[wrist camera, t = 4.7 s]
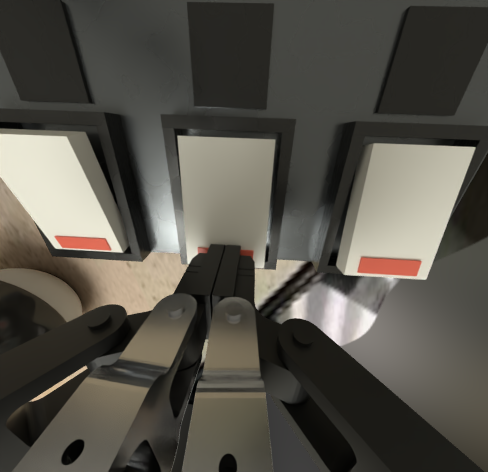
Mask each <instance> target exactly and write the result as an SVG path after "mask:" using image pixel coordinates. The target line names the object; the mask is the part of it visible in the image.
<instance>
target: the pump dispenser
mask: <svg viewBox="0 0 488 472" xmlns="http://www.w3.org/2000/svg"><path fill="white" fill-rule="evenodd" d="M81 315H82V305H81V302H80V299H79V297H78V296H77V294H76V293H75V291H74V290H73V289H72V288H71V287H70V286H69V285H68V284H66V283H65V282H64V281H62V280H61V279H59V278H57V277H55V276H53V275H51V274H48V273H46V272H42V271H38V270H33V269H26V268H9V269H0V355H1V354H3V353H5V352H7V351H9V350H11V349H13V348H15V347H17V346H19V345H21V344H23V343H25V342H27V341H30V340H32V339H34V338H36V337H38V336H40V335H42V334H44V333H46V332H48V331H50V330H52V329H54V328H56V327H58V326H61V325H63V324H65V323H67V322H69V321H71V320H73V319H75V318H77V317H79V316H81Z"/></svg>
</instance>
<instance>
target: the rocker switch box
mask: <svg viewBox="0 0 488 472" xmlns="http://www.w3.org/2000/svg"><path fill="white" fill-rule="evenodd" d="M0 128H1V129H26V130H52V131H77V132H86V135H87V137H88V139H89V142H90V144H91V146H92V149H93V151H94V153H95V156H96V158H97V160H98V163H99V165H100V167H101V170H102V172H103V174H104V177H105V179H106V181H107V184H108V186H109V188H110V191H111V193H112V195H113V198H114V200H115V202H116V205H117V207H118V209H119V212H120V214H121V216H122V220H123V223H124V227H125V231H126V234H127V238H128V241H129V246H128V247H127V249H126V250H125V251H124V252H123V253H120V252H103V251H86V250H69V249H55V247H54V246H53V245H52V243H51V242H50V241H49V239H48V238H47V237H46V236H45V234H44V233H43V232H42V230H41V229H40V228H39V226H38V225H37V224H36V223H35V224H36V226H37V228H38V230H39V231H40V233H41V235H42V237H43V239H44V241H45V243H46V245H47V247H48V249H49V251H50V253H51V255H52V256H56V257H73V258H90V259H106V260H123V261H140V262H142V261H143V260H144V259H145V258H146V257H147V256H148V255H149V254H150V252H162V253H179V254H180V256H181V263H182V264H188V262H187V250H186V237H185V225H184V212H183V200H182V187H181V174H180V162H179V149H178V137H177V136H199V137H224V138H250V139H275V151H274V162H273V173H272V184H271V196H270V207H269V218H268V229H267V240H266V251H265V262H264V268H256V269H273V270H276V263H277V259H282V260H299V261H312V263H313V265H314V267H315V270H316V272H323V273H339V274H343V273H342V272H341V271H340V270H339V269H338V268H337V266H336V263H337V258H338V253H339V249H340V244H341V239H342V234H343V229H344V225H345V220H346V215H347V210H348V205H349V201H350V196H351V191H352V186H353V181H354V177H355V172H356V167H357V162H358V158H359V155H360V151H361V148H362V146H365V145H369V144H373V143H383V144H408V145H433V146H459V147H476V148H475V151H474V153H473V156H472V159H471V161H470V164H469V167H468V169H467V172H466V175H465V177H464V180H463V183H462V185H461V188H460V191H459V193H458V196H457V199H456V201H455V204H454V207H453V209H452V212H451V215H452V214H453V212H454V210H455V208H456V207H457V205H458V203H459V201H460V200H461V198H462V196H463V194H464V193H465V191H466V189H467V187H468V186H469V184H470V182H471V181H472V179H473V177H474V175H475V174H476V172H477V170H478V168H479V167H480V165H481V163H482V161H483V160H484V158H485V156H486V154H487V153H488V0H0ZM451 215H450V217H451ZM450 217H449V219H450ZM448 221H449V220H448ZM34 222H35V221H34Z"/></svg>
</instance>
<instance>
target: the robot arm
mask: <svg viewBox="0 0 488 472" xmlns="http://www.w3.org/2000/svg"><path fill="white" fill-rule="evenodd" d="M254 284H255V262H254V260H253V259H252V257H251V256H244V255H241V245H223V244H210V247H209V249H208V251H207V253H199V254H197V255H196V256H195V257H194V258H192V260H191V262H190V264H189V267H188V268H187V269H186V272H185V273H184V275H183V277H182V279H181V281H180V282H179V284H178V286H177V288H176V290H175V292H174V294H172V295H169V296H167V297H165V298H163V299H162V300H161V301H160V302H158V304H157V305H156V306H155V307H154V309H153V310H151V311H147V312H142V313H137V314H132V315H127V313H126V310H125V309H124V308H123V307H122V306H120V305H105V306H101V307H98V308H96V309H94V310H91V311H89V312H87V313H85V314H83V315H81V316H79V317H77V318H75V319H73V320H71V321H69V322H67V323H65V324H63V325H61V326H58V327H56V328H54V329H52V330H50V331H48V332H46V333H44V334H42V335H40V336H38V337H36V338H34V339H32V340H30V341H27V342H25V343H23V344H21V345H19V346H17V347H15V348H13V349H11V350H9V351H7V352H5V353H3V354H1V355H0V472H171V469H172V466H173V462H174V459H175V456H176V452H177V447H178V442H179V434H180V427H181V423H182V419H183V416H184V413H185V410H186V406H187V404H188V400H189V397H190V394H191V391H192V388H193V385H194V382H195V379H196V376H197V373H198V369H199V366H200V363H201V360H202V350H203V346H204V342H205V339H208V346H207V352H206V358H205V365H204V371H203V375H202V378H200V379H199V382H198V385H197V389H196V394H195V400H194V405H193V411H192V417H191V422H190V429H189V434H188V440H187V445H186V451H185V457H184V463H183V468H182V472H273V465H272V454H271V444H270V434H269V424H268V414H267V404H266V394H265V392H266V393H268V394H270V395H271V397H272V399H273V401H274V403H275V404H276V406H277V407H278V409H279V410H280V412H281V413H282V415H283V416H284V418H285V419H286V421H287V422H288V424H289V425H290V427H291V428H292V430H293V431H294V432H295V434H296V435H297V437H298V438H299V440H300V441H301V443H302V444H303V446H304V447H305V449H306V450H307V452H308V453H309V455H310V456H311V458H312V459H313V461H314V462H315V464H316V465H317V467H318V468H319V470H320V471H321V472H484V471H483V470H482V469H481V468H480V467H478V466H477V465H476V464H475V463H474V462H472V461H471V460H470V459H469V458H468V457H467V456H466V455H465V454H463V453H462V452H461V451H460V450H459V449H458V448H456V447H455V446H454V445H453V444H452V443H451V442H449V441H448V440H447V439H446V438H445V437H444V436H442V435H441V434H440V433H439V432H438V431H437V430H436V429H435V428H433V427H432V426H431V425H430V424H429V423H427V422H426V421H425V420H424V419H423V418H422V417H421V416H419V415H418V414H417V413H416V412H415V411H414V410H413V409H411V408H410V407H409V406H408V405H407V404H406V403H404V402H403V401H402V400H401V399H400V398H399V397H398V396H396V395H395V394H394V393H393V392H392V391H391V390H389V389H388V388H387V387H386V386H385V385H384V384H383V383H381V382H380V381H379V380H378V379H377V378H376V377H374V376H373V375H372V374H371V373H370V372H369V371H367V370H366V369H365V368H364V367H363V366H362V365H361V364H359V363H358V362H357V361H356V360H355V359H354V358H352V357H351V356H350V355H349V354H348V353H347V352H346V351H344V350H343V349H342V348H341V347H340V346H339V345H337V344H336V343H335V342H334V341H333V340H332V339H331V338H329V337H328V336H327V335H326V334H325V333H324V332H322V331H321V330H320V329H319V328H318V327H317V326H315V325H314V324H312V323H311V322H309V321H306V320H303V319H296V318H294V319H289V320H287V321H285V322H284V323H282V324H279V323H276V322H273V321H271V320H269V319H267V318H265V317H263V316H262V315H261V314H260V313H259V312H258V310H257V309H256V307H255V303H254ZM85 365H86V366H87V368H88V369H86V370H85V371H83V372H82V373H80V374H79V375H77V376H76V377H74V378H73V379H71V380H69V381H68V382H66V383H65V384H63V385H62V386H60V387H59V388H57V389H56V390H54V391H53V392H51V393H49V394H48V395H46V396H45V397H43V398H41V399H39V400H36V401H33V402H29V401H30V400H32V399H33V398H35V397H37V396H38V395H40V394H41V393H43V392H44V391H46V390H48V389H49V388H51V387H52V386H54V385H55V384H57V383H59V382H60V381H62V380H63V379H65V378H66V377H68V376H70V375H71V374H73V373H74V372H76V371H78V370H79V369H81V368H82V367H84V366H85Z"/></svg>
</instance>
